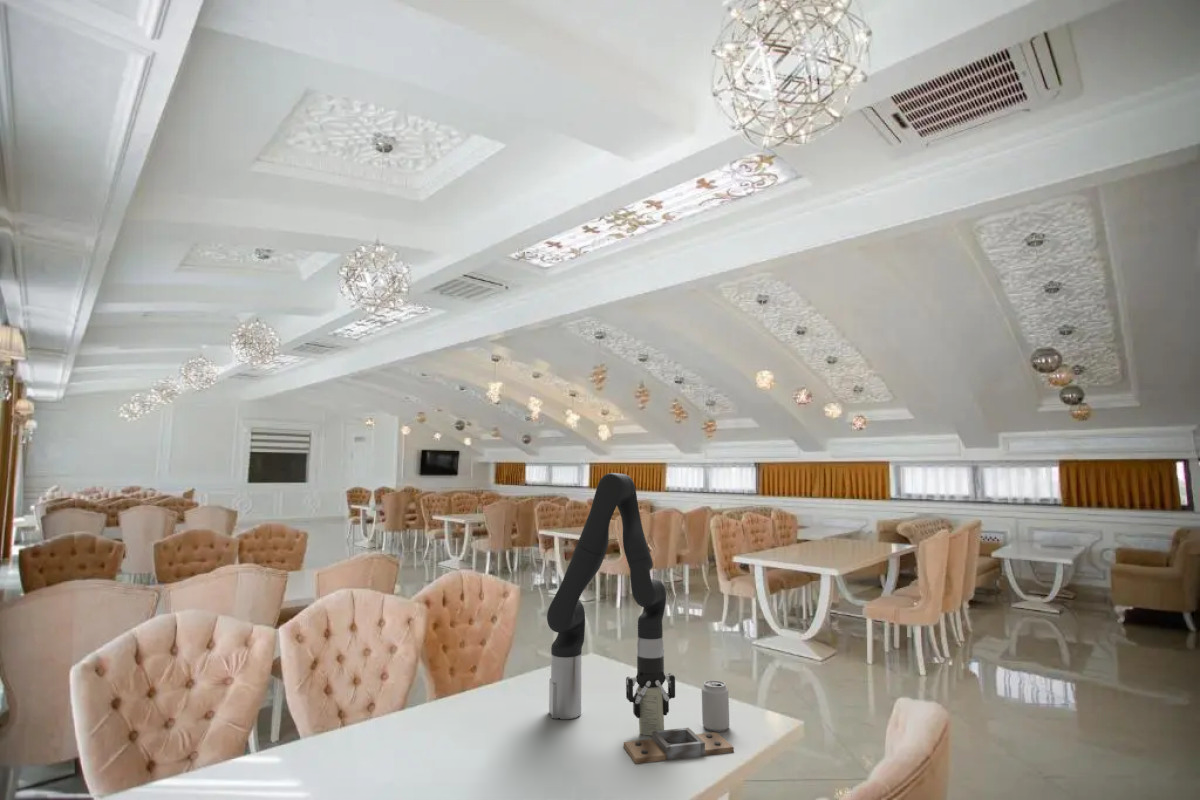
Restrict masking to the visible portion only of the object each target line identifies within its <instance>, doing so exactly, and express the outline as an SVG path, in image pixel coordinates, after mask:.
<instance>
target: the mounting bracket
mask: <svg viewBox="0 0 1200 800" xmlns="http://www.w3.org/2000/svg"><path fill="white" fill-rule="evenodd" d="M679 742H680V743H679ZM668 743H671V744H668ZM623 749H626V750H625V751H626V753H627V752H628V753H627V754H628V756H629V757H630V758H631V759H632V761H633V762H634V763H635V764H643V763H651V762H660V761H661V760H662V761H672V759H673V760H680V759H688V758H689V759H690V758H697V757H698V758H699V757H705V756H711V755H710V754H712V755H718V754H719V753H721V754H726V753H725V752H729V753H734V749H735V748H734V746H733V745H732V744H731V743H730V742H728V741H727V740H726V739H725V738H724V737H723V736H721V735H720V734H719V733H718V732H715V731H711V732H704V733H695V732H694V731H693V730H692V729H690V727H681V728H673V729H671V728H670V729H664V730H661V731H652V736H651V739H650V738H649V739H639V740H632V741H623ZM719 755H720V754H719Z"/></svg>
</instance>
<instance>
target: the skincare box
mask: <svg viewBox="0 0 1200 800" xmlns="http://www.w3.org/2000/svg"><path fill="white" fill-rule="evenodd" d="M637 688H638V691H641V690H642V688H641V687H638V686H637ZM639 704H640V718H638V726H639V727H638V729H639V731H638V732H639V735H642V734H643V735H644V736H651V737H652V731H661V730H665V719H664V717H665V715H664V713H663V696H662V694H661V687H650V688H648V689H647V691H646V693H645V694H644V696H643V697H642V698H641V700H640V702H639Z"/></svg>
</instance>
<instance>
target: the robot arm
mask: <svg viewBox="0 0 1200 800" xmlns="http://www.w3.org/2000/svg"><path fill="white" fill-rule="evenodd" d="M637 496H638V495H637V489H636V485H635V482H634V480H633V478H632V477H630V476H629V475H628V474H626V473H617V472H609V473H605V474H604V475H603V476H602V477H601V478H600V480H599V482H598V484H597V487H596V490H595V494H594V496H593V500H592V502H591V503H592V504H591V507H590V511H589V514H588V516H587V519H586V521H585V523H584V526H583V528H582V531H581V534H580V536H579V537H578V538H579V539H578V541H577V543H576V546H575V548H574V550H573V553H572V556H571V559H570V561H569V564H568V566H567V568H566V571H565V574H564V577H563V578H562V581H561V583H560V586H559V588H558V590H557V591H556V593H555V595H554V597H553V599H552V601H551V603H550V605H549V606H548V609H547V613H546V620H547V626H548V627H549V628H550V630H552V632H554V633H557V635H556V638H555V640H554V641H553V642H552V643H551V647H550V648H551V650H550V651H551V655H550V656H551V657H550V660H551V661H550V664H551V665H550V678H549V685H548V686H549V689H548V691H549V693H548V694H549V697H548V701H549V702H548V712H550V713H549V714H551V715H550V716H551V719H553V718H554V719H558V718H560V719H559V720H571V719H572V720H573V719H575V718H578V716H579V717H580V716H581V715H582V652H583V651H582V649H583V645H584V642H585V633H586V632H585V629H586V610H585V608H584V605H583V603H582V601H581V600H580V598H581V596H582V594H583V592H584V590H585V589H586V588H587V587H588V585H589V583H591V581H592V580H593V578H595V576H596V575H597V573H598V572H599V570H600V568H601V566H602V564H603V561H604V559H605V556H606V554H607V550H608V549H609V542H610V541H609V536H610V535H609V533H610V532H609V531H610V524H611V519H612V517H613V516H614V512H615V511H616V508H617V509H618V512H619V514H620V518H621V523H622V547H623V551H624V554H625V559H626V561H627V564H628V568H629V572H630V573H629V576H630V587H631V593H632V597H633V599H634V601H635V602H636V604H637V605H639V606H640V607H641V608H643V611H642V613H641V614H640V615H639V616H638V618H637V642H636V672H637V674H636V676H634V677H630V676H627V677H626V678H625V687H626V688H625V693H626V698H625V699H626V700H627V701H628V702H629V703H632V708H633V709H632V710H633V711H632V712H633V715H634V716H635V717H636V719H639V718H640V704H639V702H640V700H641V698H642V697H643V696H644V694H645V693H646V691H647V689H648V688H650V687H661V694H662V696H663V713H664V716H667V715H668V714H669V711H670V706H669V705H670V704H669V701H670V700H671V699H674V698H676V676H675V675H674V674H672V673H671V672H669V673H668V674H665V655H664V654H665V649H664V637H663V636H664V635H663V634H664V633H663V620H664V619H663V618H664V613H665V608H666V603H667V592H666V587H665V585H664V583H663V582H662V581H661V580H659V579H658V578H652V577H651V569H652V568H653V566H654V563H653V559H652V555H651V552H650V549H649V547H648V543H647V540H646V535H645V533H644V529H643V524H642V519H641V514H640V508H639V504H638V503H639V501H638V497H637ZM665 681H666V683H667V691H666V690H665V689H664V687H663V684H664V682H665ZM636 683H637V685H638V686H637V688H636V689H635V693H634V687H635V685H636ZM638 687H641V688H642V690H641V691H638Z"/></svg>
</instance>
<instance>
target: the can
mask: <svg viewBox="0 0 1200 800" xmlns="http://www.w3.org/2000/svg"><path fill="white" fill-rule="evenodd" d="M726 685H727V683H725V682H724V681H722V680H716V679H710V680H709V679H708V680H705V681H704V682H703V686H702V687H701V712H702V713H701V714H702V715H701V716H702V722H701V723H702V725H703V727H704V728H705V729H706V730H708V731H711V732H717V733H718V732H719V733H720V732H724V731H726V730H727V729H728V728H729V727H730V705H729V703H730V702H729V700H730V699H729V689H728V687H727V686H726Z"/></svg>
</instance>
